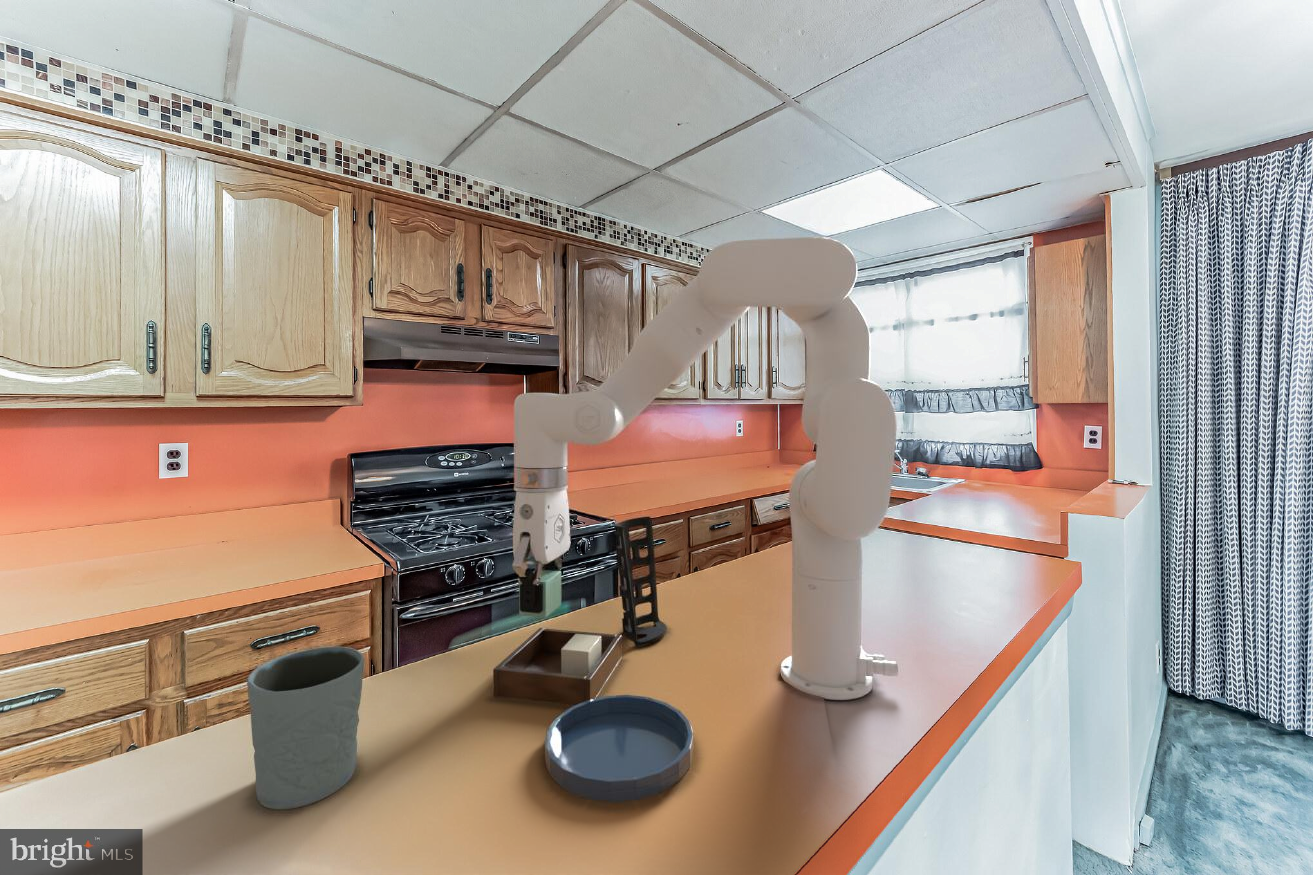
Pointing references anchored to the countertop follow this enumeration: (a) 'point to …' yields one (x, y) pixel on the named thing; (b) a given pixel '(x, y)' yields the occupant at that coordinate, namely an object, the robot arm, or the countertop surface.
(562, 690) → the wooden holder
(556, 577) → the green block
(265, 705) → the grey embossed cup
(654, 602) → the holder
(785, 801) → the countertop surface
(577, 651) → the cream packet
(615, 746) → the blue round tray
